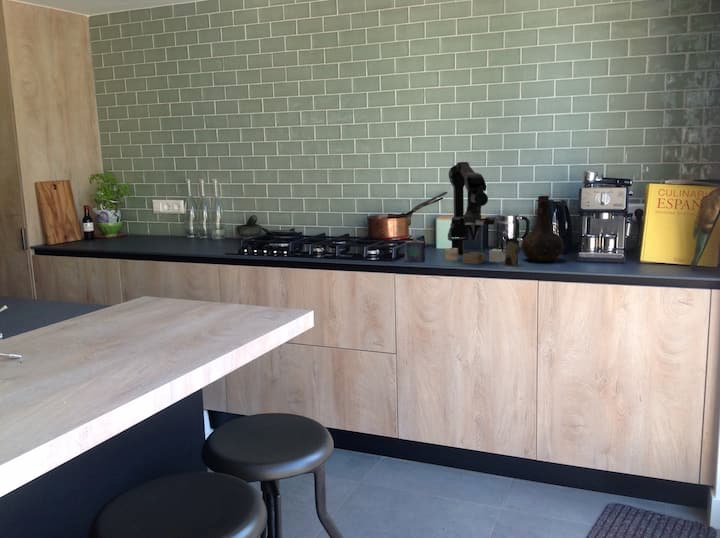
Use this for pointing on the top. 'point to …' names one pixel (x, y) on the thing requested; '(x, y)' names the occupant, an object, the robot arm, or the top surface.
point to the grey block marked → (496, 255)
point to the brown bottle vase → (542, 237)
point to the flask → (414, 251)
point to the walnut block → (473, 257)
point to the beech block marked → (451, 254)
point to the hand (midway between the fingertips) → (474, 240)
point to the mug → (510, 251)
